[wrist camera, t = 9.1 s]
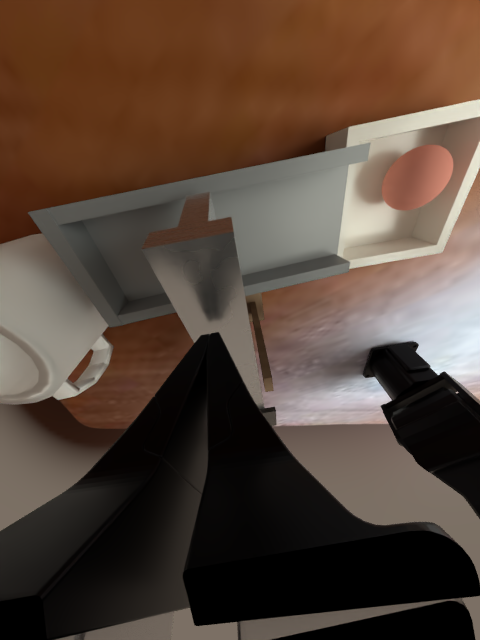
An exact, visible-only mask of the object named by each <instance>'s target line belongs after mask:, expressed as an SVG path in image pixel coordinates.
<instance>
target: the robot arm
mask: <svg viewBox="0 0 480 640" xmlns="http://www.w3.org/2000/svg"><path fill="white" fill-rule="evenodd" d="M418 346H419V345H418V343H416V342H410V343H404V344H397V345H390V346H384V347H377V348H373V349H372V350H371V351H370V355H369V358H368V361H367V364H366V367H365V370H364V373H363V376H364V377H365V378H369V377H376V379H377V380H378V382H379V383H380V384H381V386H382V387H383V388H384V390H385V391H386V392H387V394H388V395H389V397H390V398H391V399H392V401H390V402H389V403H387V404H383V405H381V408H382V410H383V413H384V415H385V417H386V419H387V421H388V423H389V425H390V427H391V429H392V431H393V433H394V435H395V437H396V439H397V442H398V443H399V445H401V446H403V447H404V448H405V449H406V450H407V451H408V452H409V453H410V454H412V455H413V457H414V459H415V461H416V462H417V463H418V464H419V465H420V466H421V467H423V468H424V469H425V470H427V471H428V472H430V473H432V474H433V475H434V476H436V477H437V478H439V479H440V480H441V481H443V482H444V483H445V484H447V485H448V486H450V487H451V488H453V489H454V490H455V491H457V492H458V493H459V494H461V495H462V496H463V497H464V498H465V499H466V501H467V502H468V503H469V504H470V506H471V507H472V509H473V510H474V512H475V513H476V514H477V516H478V517H479V519H480V400H479V399H477V398H476V397H475V396H474V395H473V394H472V393H471V392H469V391H468V390H467V389H466V388H465V387H464V386H463V385H461V384H460V383H459V382H458V381H456V380H455V379H454V378H452V377H451V376H450V375H448V374H447V373H446V372H442V373H440V375H437V374H436V373H435V372H434V371H433V370H432V369H431V368H430V365H429V364H428V363H427V362H426V361H425V360H424V359H423V358H421V357H420V356H419V355H418V354H417V353H416V350H417V348H418ZM457 391H458V392H459V393H457V394H456V393H455V392H457ZM474 596H480V583H479V578H478V575H477V572H476V569H475V566H474V564H473V562H472V560H471V559H470V557H469V556H468V554H467V553H466V552H465V551H464V550H463V548H462V547H461V546H460V545H458V543H457V542H455V541H454V540H453V539H452V538H451V537H450V536H449V535H448V534H447V533H446V532H445V531H444V530H443V529H442V528H441V527H440V526H438V525H436V524H435V523H430V522H410V523H400V524H392V525H375V524H372V523H368V522H365V521H363V520H362V519H360V518H358V517H356V516H355V515H353V514H352V513H351V512H349V511H348V510H347V509H346V508H345V507H344V506H343V505H342V504H341V503H340V502H339V501H338V500H337V499H336V498H335V497H334V496H333V495H332V494H331V493H330V492H329V491H328V490H327V489H326V488H325V487H324V486H323V485H322V484H321V483H320V482H319V481H318V480H317V479H316V478H315V477H314V476H313V475H312V474H311V473H310V472H309V471H308V470H307V469H306V468H305V467H304V466H303V465H302V464H301V463H300V462H299V461H298V460H297V459H296V458H295V457H294V456H293V454H292V453H291V452H290V451H289V450H288V448H287V447H286V446H285V444H284V443H283V442H282V440H281V439H280V437H279V436H278V435H277V433H276V432H275V431H274V429H273V428H272V426H271V425H270V423H269V422H268V421H267V419H266V418H265V416H264V415H263V413H262V412H261V411H260V409H259V407H258V406H257V404H256V403H255V401H254V400H253V398H252V396H251V394H250V393H249V391H248V389H247V387H246V385H245V383H244V381H243V379H242V377H241V375H240V373H239V371H238V369H237V367H236V365H235V363H234V361H233V359H232V357H231V355H230V353H229V351H228V349H227V347H226V345H225V343H224V341H223V339H222V337H221V335H220V333H219V332H215V333H211V334H204V335H201V336H200V337H199V338H198V339H197V341H196V342H195V343H194V345H193V346H192V347H191V348H190V350H189V351H188V352H187V354H186V355H185V356H184V358H183V359H182V360H181V361H180V363H179V364H178V365H177V367H176V368H175V369H174V371H173V372H172V373H171V374H170V376H169V377H168V378H167V380H166V381H165V382H164V384H163V385H162V386H161V387H160V389H159V390H158V391H157V393H156V394H155V397H153V398H152V399H151V400H150V402H149V403H148V404H147V406H146V407H145V408H144V409H143V411H142V412H141V413H140V414H139V416H138V417H137V418H136V419H135V420H134V421H133V423H132V424H131V425H130V426H129V427H128V428H127V430H126V431H125V432H124V433H123V434H122V435H121V436H120V437H119V438H118V440H117V441H116V442H115V443H114V444H113V445H112V446H111V447H110V449H109V450H108V451H107V452H106V453H105V454H104V455H103V456H102V457H101V459H100V460H99V461H98V462H97V463H96V464H95V465H94V466H93V467H92V469H91V470H90V471H89V472H88V473H87V474H86V475H85V476H84V477H83V478H81V479H80V480H79V481H78V482H77V483H76V484H74V485H73V486H72V487H70V488H69V489H68V490H66V491H65V492H63V493H62V494H60V495H59V496H57V497H55V498H54V499H52V500H51V501H49V502H47V503H46V504H44V505H42V506H41V507H39V508H37V509H36V510H34V511H32V512H31V513H29V514H28V515H26V516H25V517H23V518H21V519H19V520H18V521H16V522H15V523H13V524H11V525H10V526H8V527H6V528H5V529H3V530H1V531H0V640H171V635H172V626H173V617H174V611H178V610H182V609H186V608H191V613H192V617H193V621H194V624H195V625H196V626H202V625H211V624H220V623H230V622H237V624H238V625H237V626H238V640H475V635H474V629H473V623H472V619H471V616H470V613H469V611H468V609H467V607H466V606H465V604H464V602H463V600H462V598H464V597H474Z"/></svg>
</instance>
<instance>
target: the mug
mask: <svg viewBox="0 0 480 640" xmlns="http://www.w3.org/2000/svg"><path fill="white" fill-rule="evenodd" d="M107 327H108V324H107V323H106V322H105V320H104V319H103V317H102V316H101V315H100V313H99V312H98V310H97V309H96V308H95V306H94V305H93V303H92V302H91V301H90V299H89V298H88V296H87V295H86V294H85V292H84V291H83V289H82V288H81V287H80V285H79V284H78V282H77V281H76V280H75V278H74V277H73V275H72V274H71V272H70V271H69V270H68V268H67V267H66V265H65V264H64V263H63V261H62V260H61V258H60V257H59V256H58V254H57V253H56V251H55V250H54V249H53V247H52V246H51V244H50V243H49V242H48V240H47V239H46V237H45V236H44V235H43V234H35V235H30V236H26V237H23V238H20V239H16V240H13V241H10V242H7V243H3V244H0V404H26V403H34V402H38V401H41V400H44V399H46V398H49V397H51V396H53V397H55V398H56V399H58V400H60V399H65V398H69V397H74V396H77V395H78V394H80V393H81V392H83V391H85V390H86V389H88V388H89V387H91V386H92V385H94V384H95V383H97V381H98V380H99V378H100V377H101V375H102V374H103V372H104V371H105V369H106V368H107V367H108V365H109V362H110V358H111V355H112V351H113V348H114V346H113V345H112V344H111V343H110V342H109V341H108V340H107V338H106V337H105V336H104V335H103V334H102V333H103V332H104V331H105V330H106V328H107ZM90 349H92V350H93V351H94V352H93V355H92V358H91V361H90V364H89V366H88V367H87V368H86V370H85V371H84V372H83V373H82V375H81V376H80V377H79V378H78V380H77V381H76V382H74V383H72V382H71V381H70V380H68V379H67V378H68V377H69V375H70V374H71V373H72V372H73V370H74V369H75V368H76V366H77V365H78V364H79V363H80V361H81V360H82V359H83V358H84V356H85V355H86V354H87V352H88V351H89V350H90Z"/></svg>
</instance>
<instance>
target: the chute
mask: <svg viewBox="0 0 480 640" xmlns="http://www.w3.org/2000/svg"><path fill="white" fill-rule="evenodd" d="M370 143H371V142H370ZM370 143H366V144H361V145H356V146H351V147H346V148H341V149H336V150H331V151H326V152H321V153H316V154H312V155H307V156H302V157H297V158H292V159H287V160H282V161H277V162H272V163H267V164H262V165H257V166H253V167H248V168H243V169H238V170H233V171H228V172H223V173H218V174H213V175H208V176H203V177H199V178H194V179H189V180H184V181H179V182H174V183H169V184H164V185H159V186H154V187H149V188H144V189H140V190H135V191H130V192H125V193H120V194H115V195H110V196H105V197H100V198H95V199H90V200H86V201H81V202H76V203H71V204H66V205H61V206H56V207H51V208H46V209H41V210H36V211H32V212H28V213H29V215H30V216H31V218H32V219H33V220H34V222H35V223H36V225H37V226H38V228H39V229H40V230H41V232H42V233H43V235H44V236H45V237H46V239H47V240H48V242H49V243H50V244H51V246H52V247H53V249H54V250H55V251H56V253H57V254H58V256H59V257H60V258H61V260H62V261H63V263H64V264H65V265H66V267H67V268H68V270H69V271H70V272H71V274H72V275H73V277H74V278H75V280H76V281H77V282H78V284H79V285H80V287H81V288H82V289H83V291H84V292H85V294H86V295H87V296H88V298H89V299H90V301H91V302H92V303H93V305H94V306H95V308H96V309H97V310H98V312H99V313H100V315H101V316H102V317H103V319H104V320H105V322H106V323H107V324H108V326H109V327H116V326H122V325H124V324H128V323H133V322H137V321H141V320H145V319H150V318H154V317H158V316H163V315H167V314H171V313H175V312H176V310H175V308H174V306H173V305H172V303H171V301H170V299H169V298H168V296H167V294H166V292H165V290H164V289H163V287H162V285H161V283H160V282H159V280H158V278H157V276H156V274H155V273H154V271H153V269H152V267H151V266H150V264H149V262H148V260H147V259H146V257H145V255H144V253H143V251H142V250H141V249H142V247H143V245H144V243H145V241H146V239H147V237H148V235H149V232H155V231H160V230H165V229H170V228H175V227H178V224H179V221H180V217H181V214H182V210H183V207H184V204H185V200H186V197H187V196H189V195H194V194H199V193H204V192H209V191H210V194H211V199H212V203H213V207H214V212H215V216H216V220H217V219H222V218H227V217H232V223H233V229H234V234H235V240H236V246H237V252H238V258H239V263H240V269H241V275H242V281H243V287H244V292H245V296H248V295H253V294H257V293H261V292H265V291H270V290H274V289H278V288H283V287H287V286H291V285H295V284H300V283H304V282H308V281H312V280H317V279H321V278H325V277H330V276H334V275H338V274H342V273H347V272H349V266H350V262H349V261H347V260H345V259H343V258H342V257H340V256H338V255H337V253H338V245H339V237H340V230H341V222H342V214H343V206H344V198H345V191H346V183H347V175H348V167H349V165H350V164H355V163H360V162H365V161H368V155H369V149H370Z"/></svg>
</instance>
